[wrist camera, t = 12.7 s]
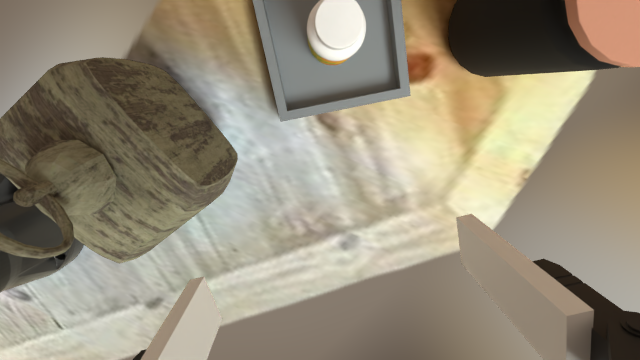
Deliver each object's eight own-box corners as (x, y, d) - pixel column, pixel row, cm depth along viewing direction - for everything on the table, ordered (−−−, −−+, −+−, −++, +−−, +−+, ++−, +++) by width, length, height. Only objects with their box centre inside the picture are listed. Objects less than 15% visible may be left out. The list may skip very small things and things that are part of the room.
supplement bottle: (298, 48, 33) (293, 33, 24) (324, 2, 32) (328, -33, 23) (339, 75, 34) (348, 70, 25) (365, 31, 33) (385, 9, 24)
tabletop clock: (121, 108, 36) (-268, 150, 12) (174, 59, 34) (-147, -5, 10) (205, 197, 39) (37, 367, 15) (257, 157, 38) (160, 275, 14)
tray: (282, 119, 36) (280, 121, 34) (251, -20, 32) (246, -28, 30) (403, 95, 36) (410, 95, 33) (388, -50, 31) (395, -61, 29)
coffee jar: (536, -39, 32) (793, -186, 15) (538, 64, 35) (754, 41, 18) (437, -12, 33) (576, -123, 15) (449, 87, 36) (574, 86, 18)
